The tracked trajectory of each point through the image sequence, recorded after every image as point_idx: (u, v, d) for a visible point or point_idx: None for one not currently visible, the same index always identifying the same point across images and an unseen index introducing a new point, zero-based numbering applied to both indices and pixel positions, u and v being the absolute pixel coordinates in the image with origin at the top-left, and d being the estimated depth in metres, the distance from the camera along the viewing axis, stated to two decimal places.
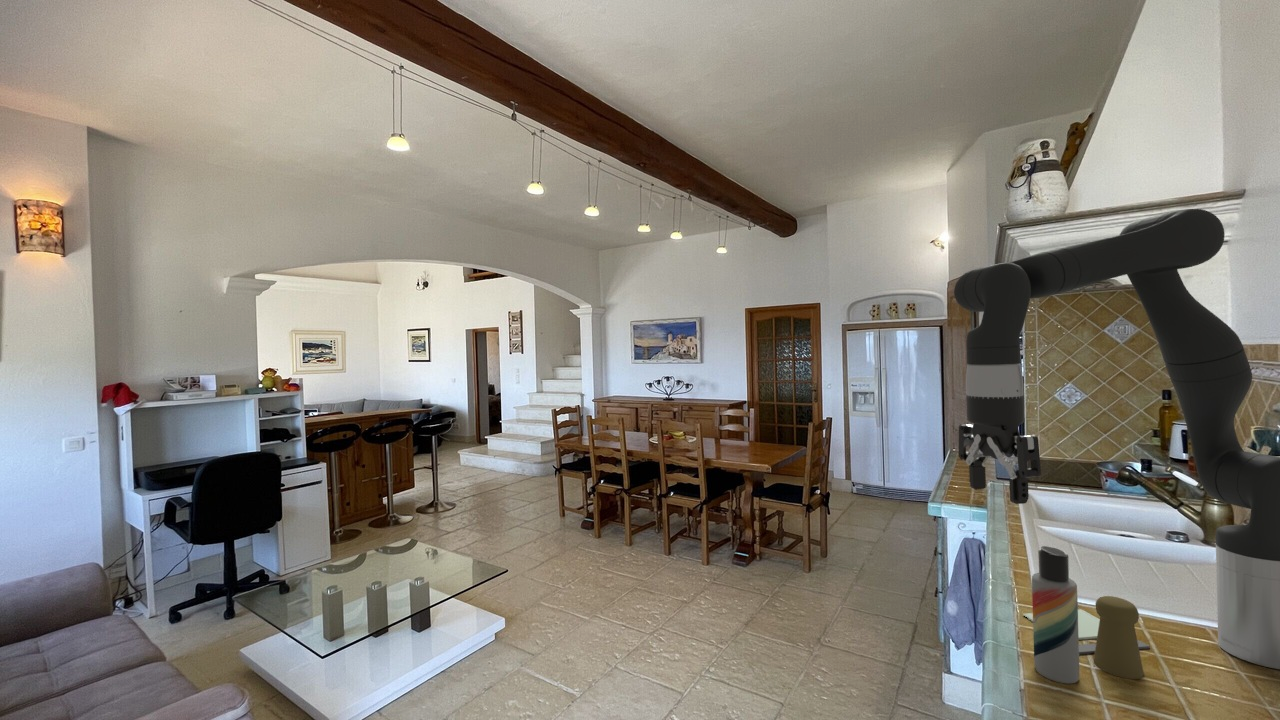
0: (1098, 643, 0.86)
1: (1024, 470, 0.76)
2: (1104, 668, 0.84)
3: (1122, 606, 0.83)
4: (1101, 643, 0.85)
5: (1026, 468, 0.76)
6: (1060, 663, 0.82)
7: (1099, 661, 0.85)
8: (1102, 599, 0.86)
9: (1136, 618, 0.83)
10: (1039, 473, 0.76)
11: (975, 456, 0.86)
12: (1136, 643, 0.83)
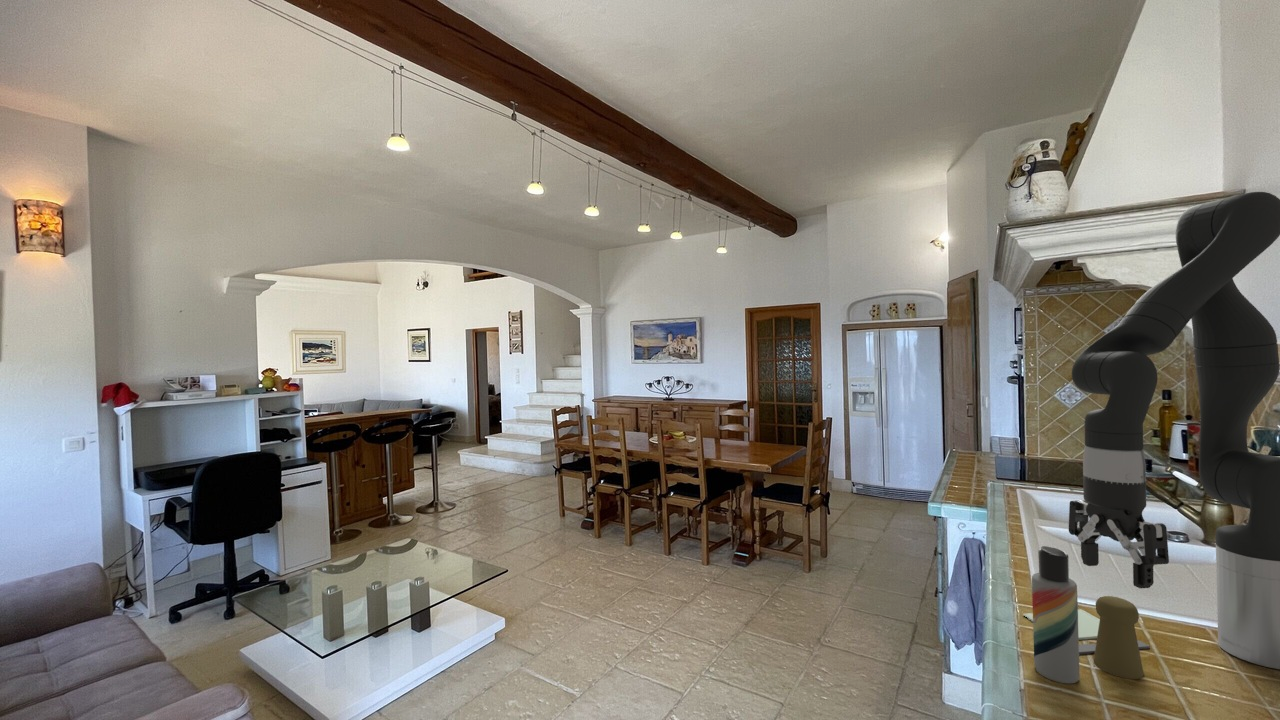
0: (1098, 643, 0.86)
1: (1152, 558, 0.78)
2: (1104, 668, 0.84)
3: (1122, 606, 0.83)
4: (1101, 643, 0.85)
5: (1155, 556, 0.78)
6: (1060, 663, 0.82)
7: (1099, 661, 0.85)
8: (1102, 599, 0.86)
9: (1136, 618, 0.83)
10: (1167, 561, 0.78)
11: (1090, 534, 0.88)
12: (1136, 643, 0.83)
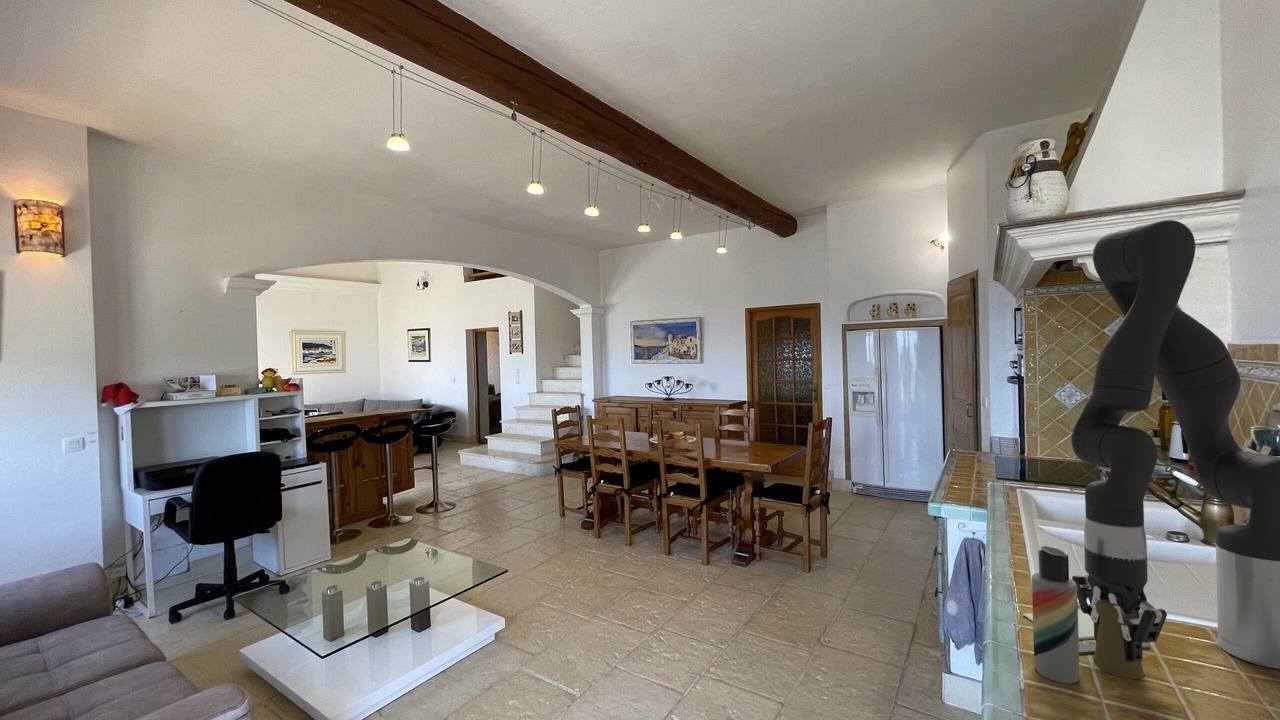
0: (1098, 643, 0.86)
1: (1141, 636, 0.80)
2: (1104, 668, 0.84)
3: None
4: (1101, 643, 0.85)
5: (1145, 637, 0.80)
6: (1060, 663, 0.82)
7: (1099, 661, 0.85)
8: (1102, 599, 0.86)
9: (1136, 618, 0.83)
10: (1155, 641, 0.80)
11: None
12: None
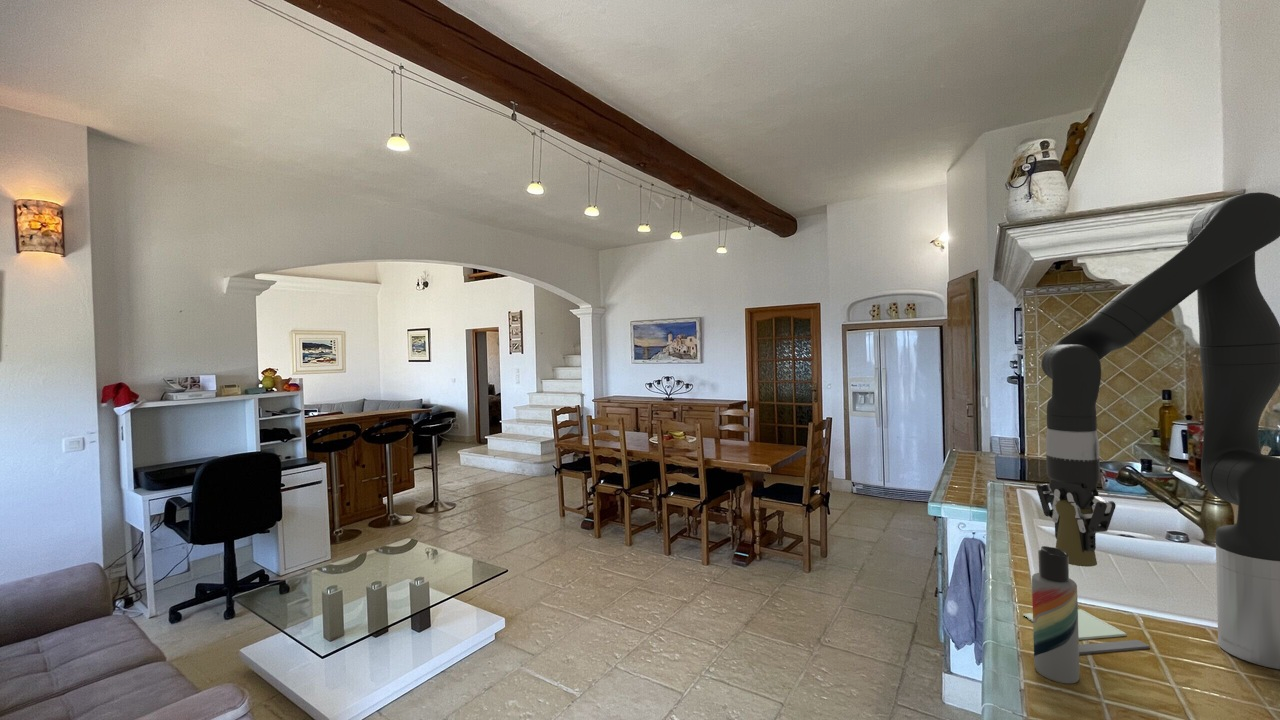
0: (1058, 539, 0.97)
1: (1094, 526, 0.91)
2: None
3: None
4: (1061, 538, 0.96)
5: (1097, 527, 0.91)
6: (1060, 663, 0.82)
7: None
8: (1061, 500, 0.97)
9: (1090, 513, 0.94)
10: (1106, 530, 0.91)
11: None
12: None
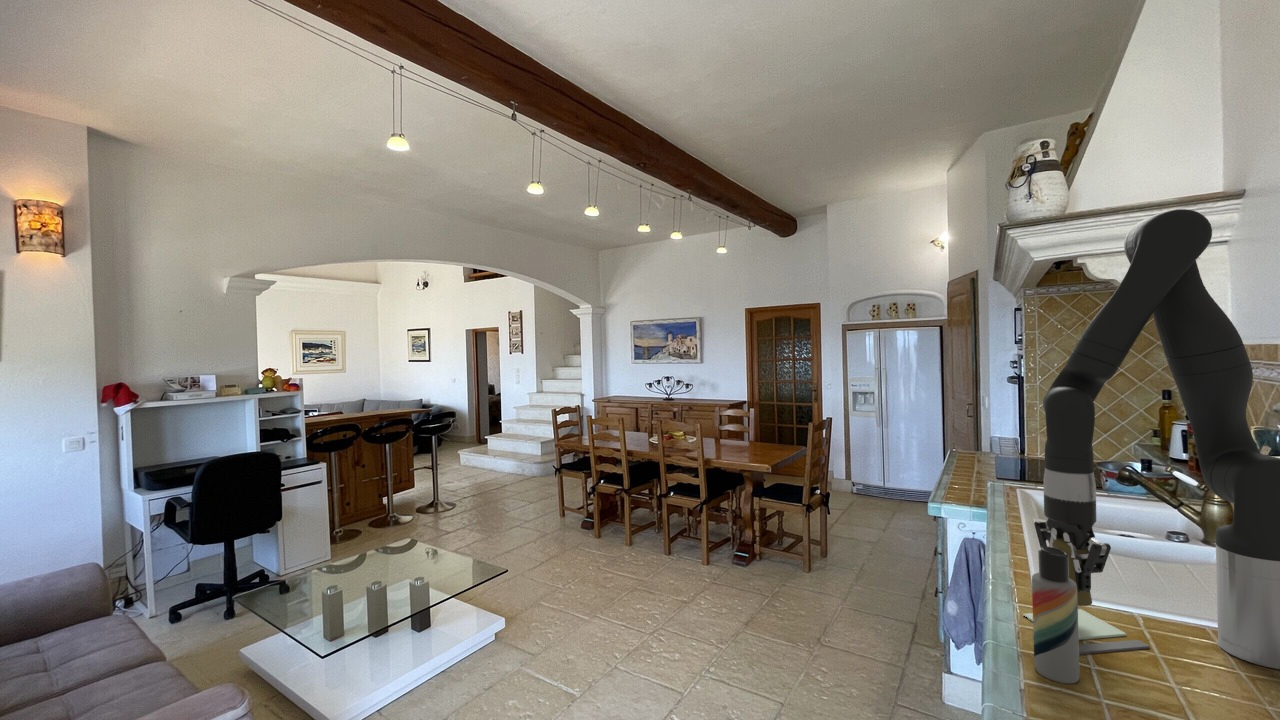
0: None
1: (1089, 567, 0.93)
2: None
3: None
4: None
5: (1092, 568, 0.92)
6: (1060, 663, 0.82)
7: None
8: (1058, 539, 0.98)
9: (1086, 553, 0.95)
10: (1101, 571, 0.93)
11: None
12: None
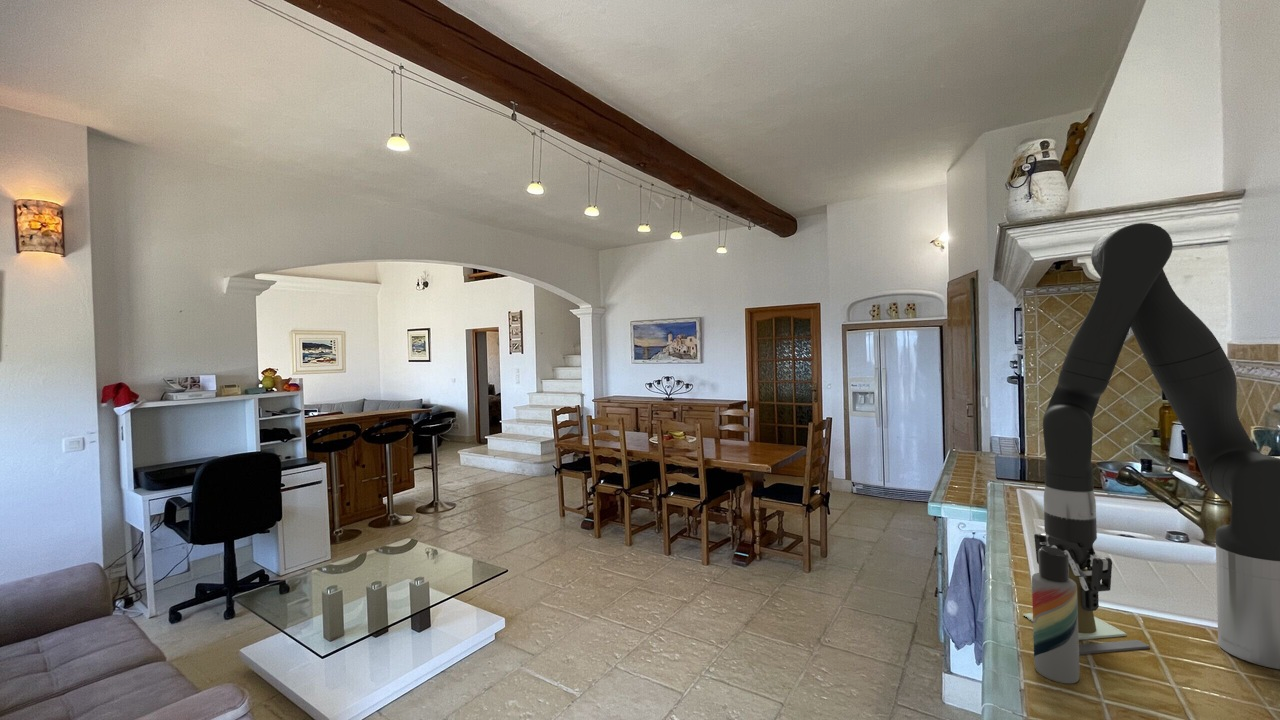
0: None
1: (1096, 586, 0.91)
2: None
3: None
4: None
5: (1099, 585, 0.91)
6: (1060, 663, 0.82)
7: None
8: None
9: (1089, 581, 0.95)
10: (1109, 589, 0.91)
11: None
12: None
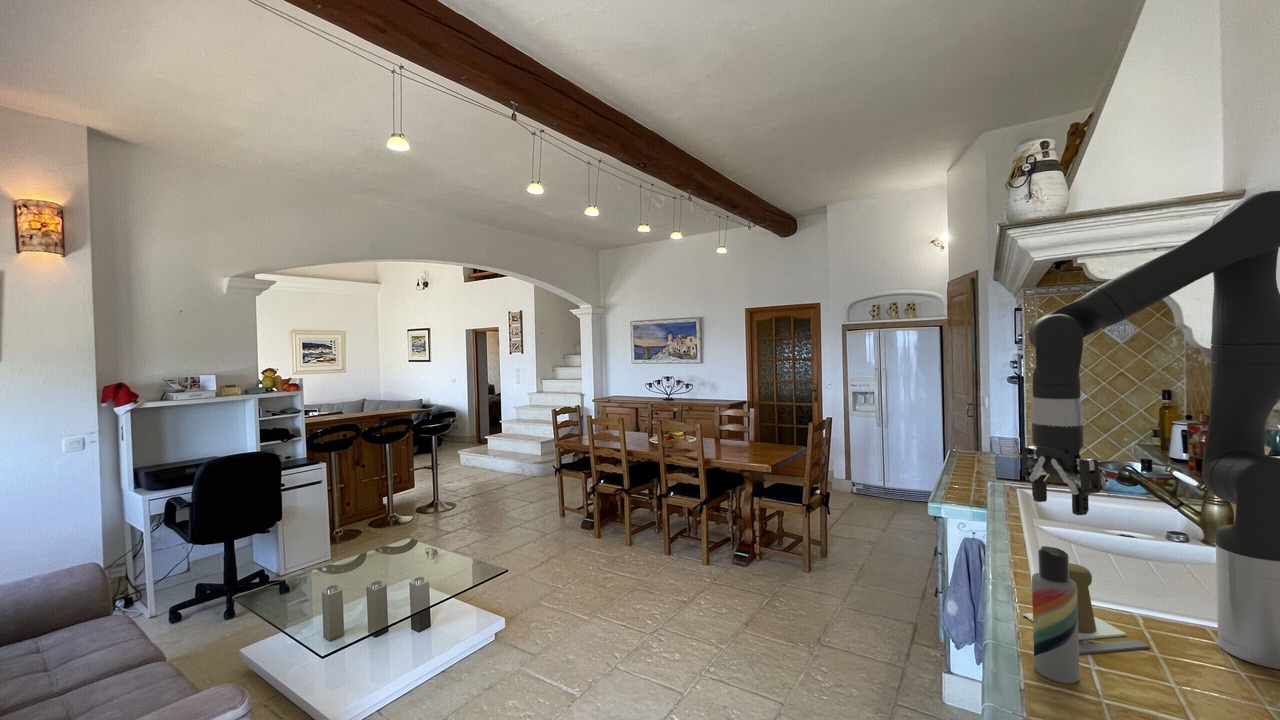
0: None
1: (1086, 487, 0.92)
2: None
3: (1078, 570, 0.95)
4: None
5: (1088, 486, 0.92)
6: (1060, 663, 0.82)
7: None
8: None
9: (1089, 581, 0.95)
10: (1099, 490, 0.92)
11: (1039, 474, 1.02)
12: (1089, 603, 0.95)
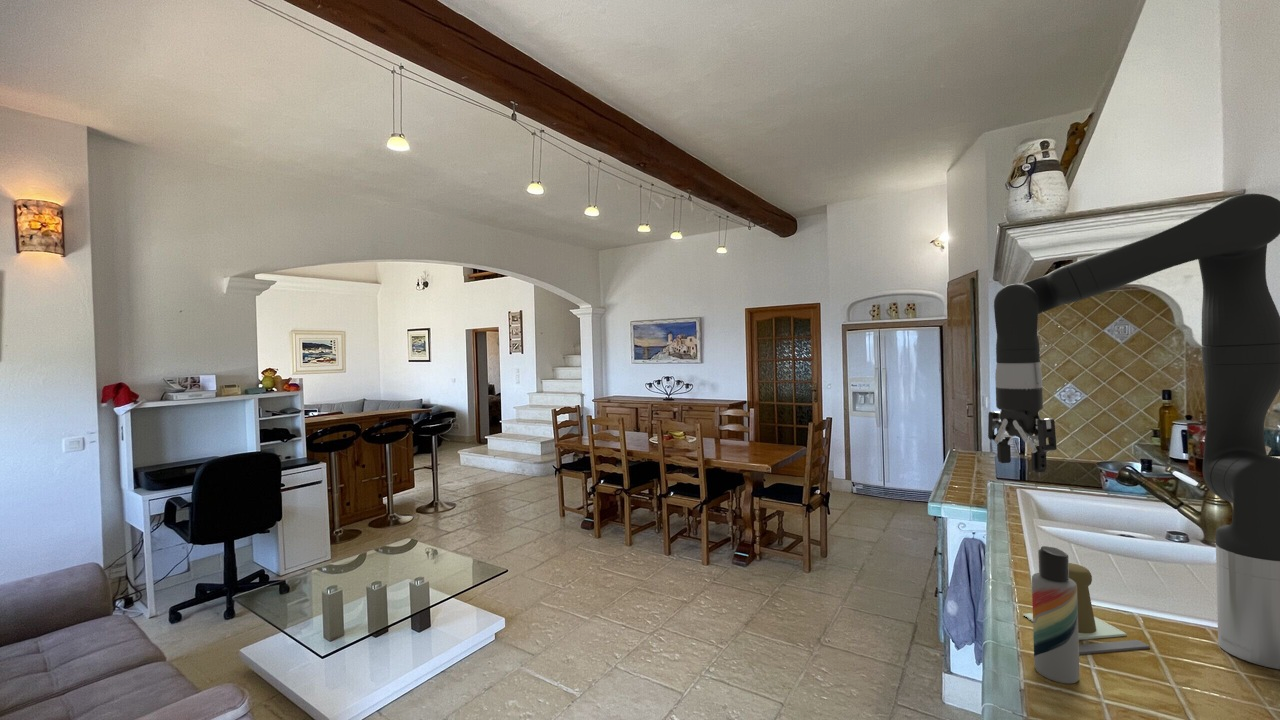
0: None
1: (1043, 445, 0.98)
2: None
3: (1077, 570, 0.95)
4: None
5: (1045, 443, 0.97)
6: (1060, 663, 0.82)
7: None
8: None
9: (1089, 581, 0.95)
10: (1055, 447, 0.98)
11: (1002, 436, 1.08)
12: (1089, 602, 0.95)
